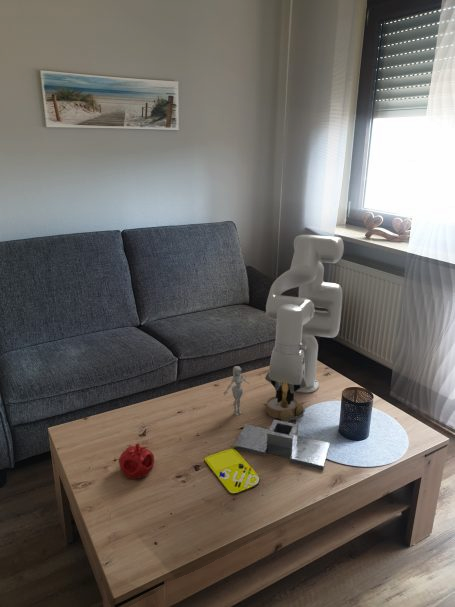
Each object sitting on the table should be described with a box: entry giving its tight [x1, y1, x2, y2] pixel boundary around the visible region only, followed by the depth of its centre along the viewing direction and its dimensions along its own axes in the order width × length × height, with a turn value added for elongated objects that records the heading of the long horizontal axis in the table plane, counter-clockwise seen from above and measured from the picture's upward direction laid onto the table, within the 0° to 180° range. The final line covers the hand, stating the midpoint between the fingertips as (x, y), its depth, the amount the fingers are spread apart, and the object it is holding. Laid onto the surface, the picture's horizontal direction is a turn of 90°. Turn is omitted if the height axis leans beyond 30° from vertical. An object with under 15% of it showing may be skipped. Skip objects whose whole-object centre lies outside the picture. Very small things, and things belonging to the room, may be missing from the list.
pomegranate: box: [118, 441, 155, 480], centre depth 139 cm, size 10×10×9 cm
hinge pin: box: [280, 382, 290, 408], centre depth 145 cm, size 3×3×10 cm
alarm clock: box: [263, 395, 306, 423], centre depth 171 cm, size 11×5×15 cm
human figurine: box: [223, 365, 250, 416], centre depth 168 cm, size 12×4×18 cm, turn 132°
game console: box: [204, 448, 260, 496], centre depth 142 cm, size 18×11×2 cm, turn 30°
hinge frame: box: [233, 419, 330, 471], centre depth 151 cm, size 12×28×7 cm, turn 70°
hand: (284, 400), depth 147 cm, fingers closed on hinge pin, 2 cm apart
